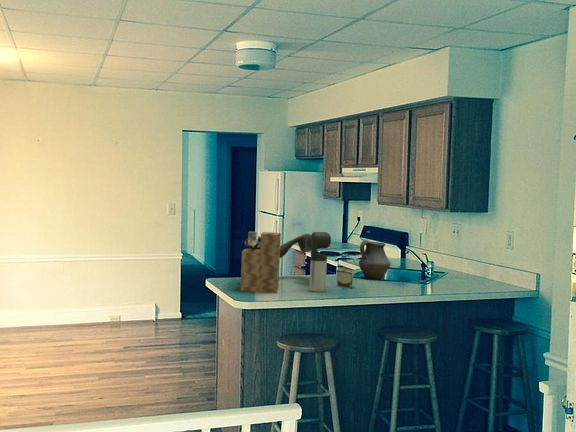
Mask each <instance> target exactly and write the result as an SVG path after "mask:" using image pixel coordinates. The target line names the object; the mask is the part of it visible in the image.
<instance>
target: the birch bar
mask: <svg viewBox="0 0 576 432" xmlns="http://www.w3.org/2000/svg"><path fill="white" fill-rule="evenodd" d="M257 233H258V232H257V231H248V233H247V238H248V245H247V246H249V245H256V244H257V243H258V236H259V235H258V234H257Z"/></svg>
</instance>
